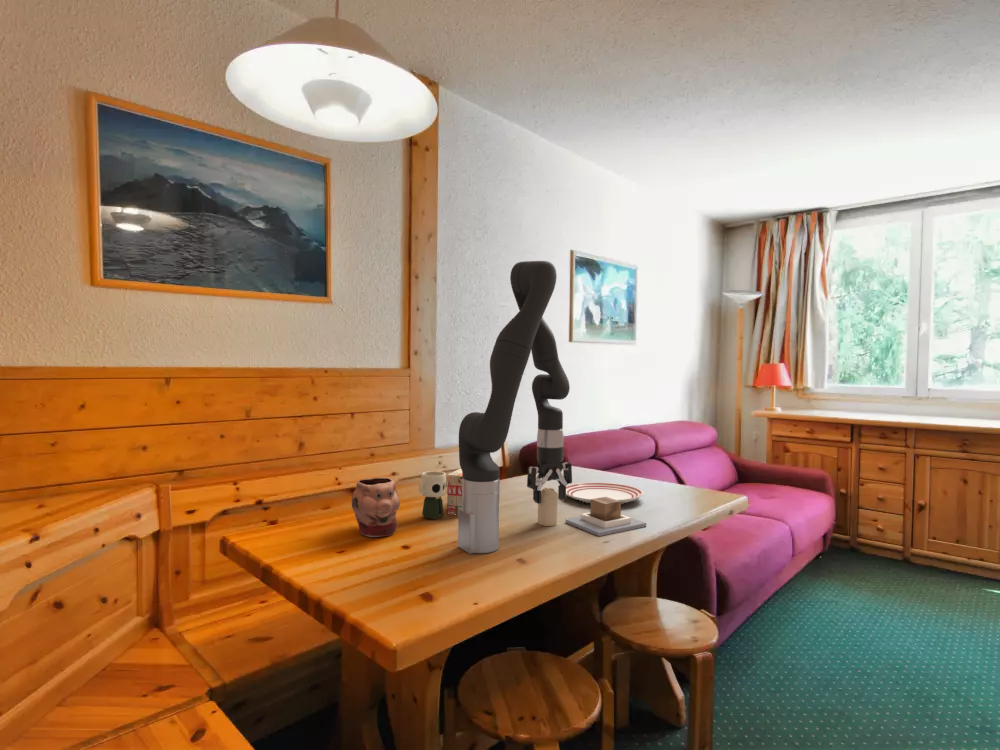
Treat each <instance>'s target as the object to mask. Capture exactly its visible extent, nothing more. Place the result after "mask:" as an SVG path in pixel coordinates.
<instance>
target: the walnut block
mask: <svg viewBox="0 0 1000 750" xmlns="http://www.w3.org/2000/svg"><path fill="white" fill-rule="evenodd" d="M621 507H622V504H621V501H618V500H615V499H612V498H608V497H602V498H595V499H591V504H590V511H589V512H590V516H592V517H594V518H597V519H600V520H603V521H610V520H616V519H621V514H622V513H621V512H622V511H621V510H622V508H621Z"/></svg>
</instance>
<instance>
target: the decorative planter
mask: <svg viewBox="0 0 1000 750" xmlns="http://www.w3.org/2000/svg"><path fill="white" fill-rule="evenodd" d="M399 496H400V495H399V493H398V490H397V488H396V484H395V481H394V480H393V479H391V478H387V477H375V478H363V479H360V480H358V481H357V482H356V487H355V490H354V491H353V493H352V496H351V508H352V511H353V513H354V516H355V520H356V523H357V525H358V531H359V532H360V534H361V535H362V536H365V537H370V538H378V537H386V536H391V535H393V534H395V533H396V531H397V527H398V524H397V523H398V522H397V511H399V509H400V507H401V506H400V505H401V499H400V497H399Z"/></svg>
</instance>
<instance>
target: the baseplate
mask: <svg viewBox="0 0 1000 750" xmlns="http://www.w3.org/2000/svg"><path fill="white" fill-rule="evenodd" d="M564 521H565V522H564V523H566V524H567V523H568V525H570V526H572V525H573V526H572V527H575V528H577V527H578V528H577V529H580V530H582V529H583V530H582V531H585V532H587V533H589V532H590V534H592V535H594V534H595V536H597V537H602V536H608V535H613V534H616V533H621V532H626V531H632V530H636V528H637V529H641V528H645V526H646V527H647V522H645V521H641V520H640V519H636V518H633V517H630V516H627V515H623V514H622V513H621V519H616V520H610V521H603V520H600V519H597V518H594V517H592V516H590V511H589V512H584V513H580V516H577V517H576V516H575V517H570V518H566V519H565V520H564ZM612 533H613V534H612Z"/></svg>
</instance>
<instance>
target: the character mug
mask: <svg viewBox="0 0 1000 750" xmlns="http://www.w3.org/2000/svg"><path fill="white" fill-rule="evenodd" d="M420 475H421V476H420V477H421V478H420V479H421V481H419V483H418V492H419V494H421V496H424V500H423V505H422V513H421V514H422V516H423V517H424V518H427V519H429V518H430V519H433V520H434V519H435V520H436V519H440V518H443V517H444V516H445V513H444V503H443V499H442V498H443V496H445V494H446V493H447V492H446V490H447V485H448V476H446V472H444V471H439V470H438V471H437V470H431V471H429V470H428V471H424V472H422V473H421V474H420ZM440 516H441V517H440Z"/></svg>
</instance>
